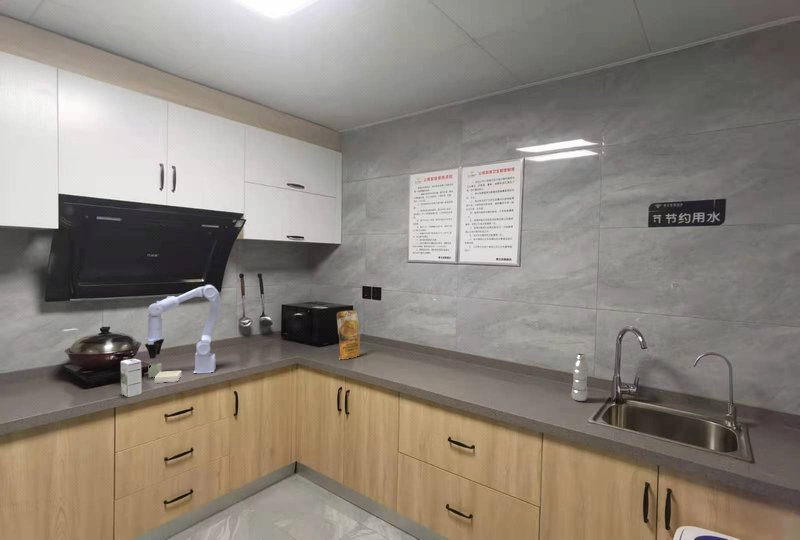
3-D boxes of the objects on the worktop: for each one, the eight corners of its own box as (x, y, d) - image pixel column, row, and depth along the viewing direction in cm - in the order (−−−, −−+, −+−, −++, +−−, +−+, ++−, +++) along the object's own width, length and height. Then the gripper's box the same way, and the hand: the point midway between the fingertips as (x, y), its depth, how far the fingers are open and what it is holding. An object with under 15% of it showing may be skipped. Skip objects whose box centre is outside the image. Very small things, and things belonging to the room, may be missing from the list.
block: (161, 374, 199) (161, 362, 199) (159, 377, 195) (159, 365, 195) (151, 375, 198) (151, 363, 198) (148, 378, 194) (148, 365, 193)
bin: (181, 376, 197) (181, 370, 197) (177, 382, 188) (177, 376, 188) (160, 378, 194) (160, 371, 194) (154, 383, 185) (154, 377, 185)
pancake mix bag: (332, 359, 236) (333, 311, 235) (356, 354, 250) (357, 308, 249) (339, 361, 231) (340, 312, 231) (363, 355, 246) (364, 310, 245)
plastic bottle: (568, 400, 175) (570, 354, 175) (574, 396, 180) (576, 351, 179) (583, 404, 171) (585, 357, 170) (589, 400, 175) (591, 354, 175)
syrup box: (142, 393, 172) (142, 359, 172) (127, 397, 167) (127, 362, 166) (135, 391, 175) (135, 358, 174) (120, 395, 170) (120, 360, 169)
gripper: (149, 326, 201) (149, 353, 202) (140, 331, 187) (140, 360, 188) (165, 325, 203) (165, 352, 204) (158, 330, 190) (158, 359, 190)
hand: (154, 356), depth 196 cm, fingers open, 7 cm apart
